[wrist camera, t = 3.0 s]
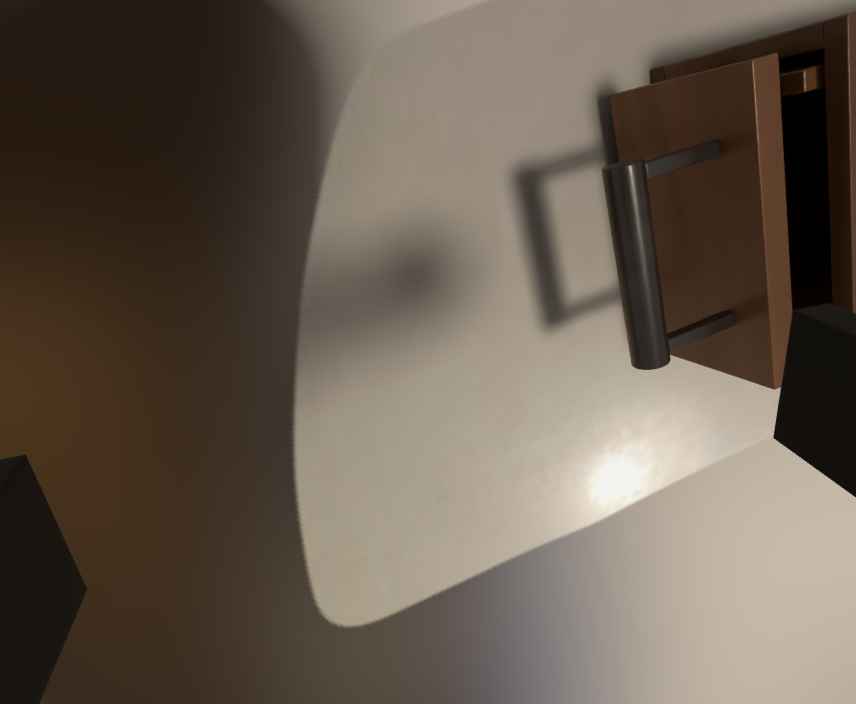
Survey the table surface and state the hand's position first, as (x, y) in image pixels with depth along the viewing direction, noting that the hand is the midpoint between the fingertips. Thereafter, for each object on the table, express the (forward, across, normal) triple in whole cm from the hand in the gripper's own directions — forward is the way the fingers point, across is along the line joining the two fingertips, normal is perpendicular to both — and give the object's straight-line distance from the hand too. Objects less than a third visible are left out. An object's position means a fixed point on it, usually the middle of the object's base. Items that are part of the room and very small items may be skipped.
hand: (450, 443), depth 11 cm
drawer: (+19, +18, -2) cm, 26 cm away
